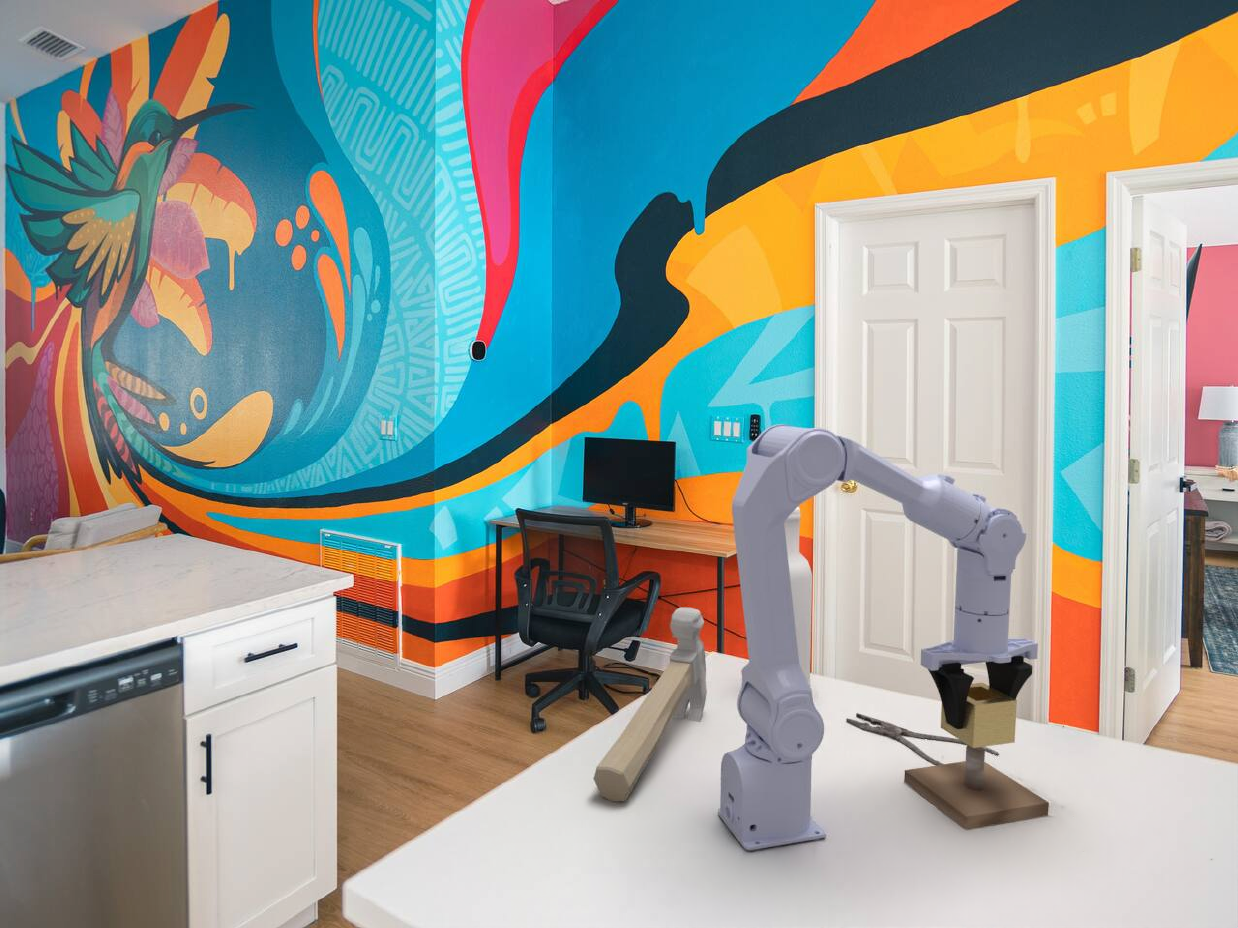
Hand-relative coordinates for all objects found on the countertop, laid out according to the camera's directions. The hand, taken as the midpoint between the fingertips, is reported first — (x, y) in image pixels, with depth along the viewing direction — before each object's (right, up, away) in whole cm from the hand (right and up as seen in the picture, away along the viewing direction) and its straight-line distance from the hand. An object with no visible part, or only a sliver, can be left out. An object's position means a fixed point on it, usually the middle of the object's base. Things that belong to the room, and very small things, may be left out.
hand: (976, 722), depth 93 cm
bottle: (-16, -6, +32) cm, 36 cm away
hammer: (-37, -8, +13) cm, 40 cm away
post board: (0, -9, +1) cm, 9 cm away
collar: (0, -1, 0) cm, 1 cm away
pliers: (-2, -8, +15) cm, 17 cm away
